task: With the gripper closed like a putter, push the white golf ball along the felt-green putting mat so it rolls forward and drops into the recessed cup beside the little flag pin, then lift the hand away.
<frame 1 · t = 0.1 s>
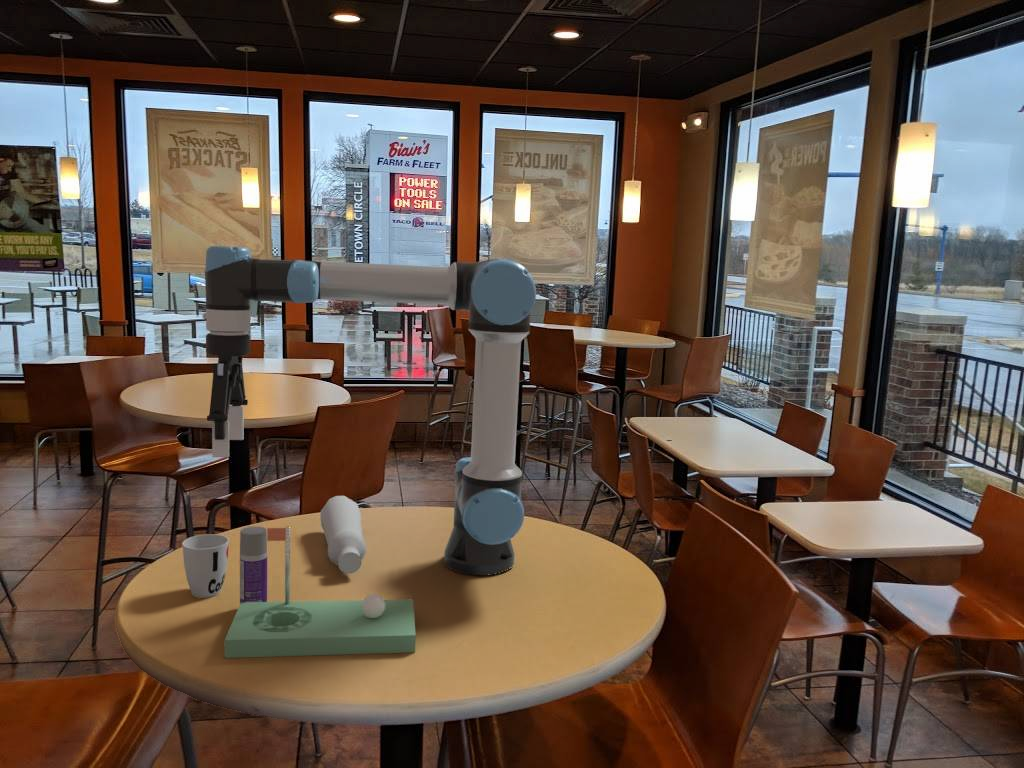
hand: (228, 447, 146), 28 cm above the table, fingers open, 13 cm apart
cup: (206, 593, 149), on the table
bottle: (342, 554, 172), on the table
green: (325, 634, 135), on the table
flag pin: (287, 619, 140), resting on green
ball: (373, 606, 135), point 5 cm above the table, touching green
container: (253, 611, 143), on the table
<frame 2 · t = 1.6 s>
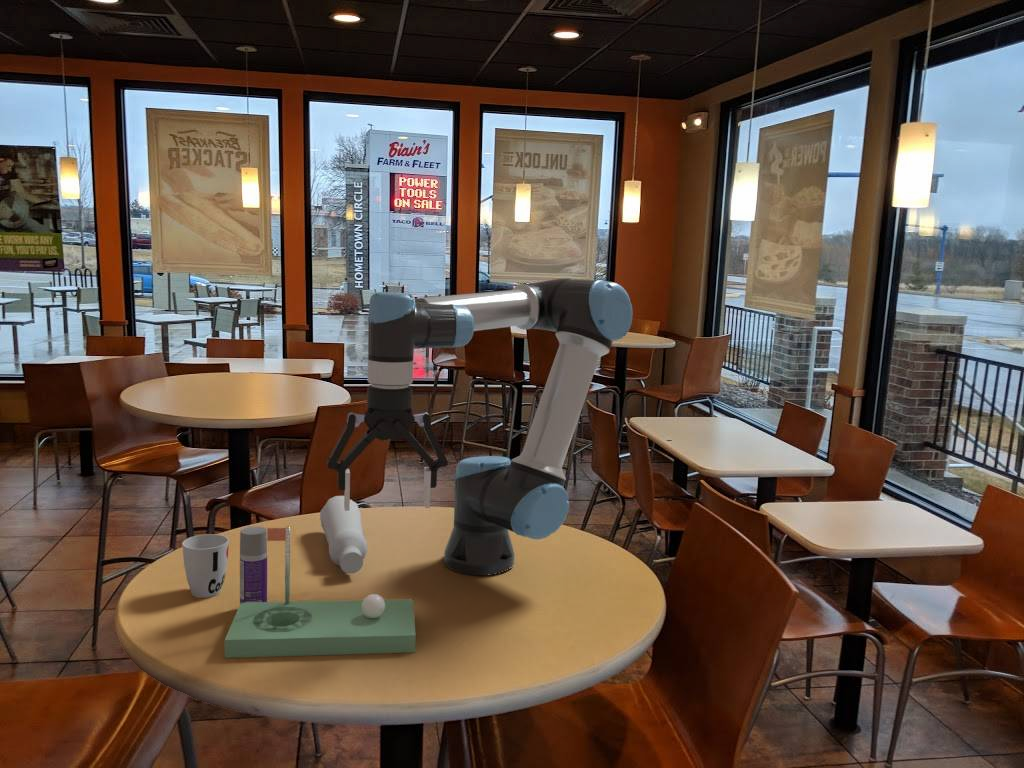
hand: (387, 507, 136), 22 cm above the table, fingers open, 13 cm apart
nothing on the table moved.
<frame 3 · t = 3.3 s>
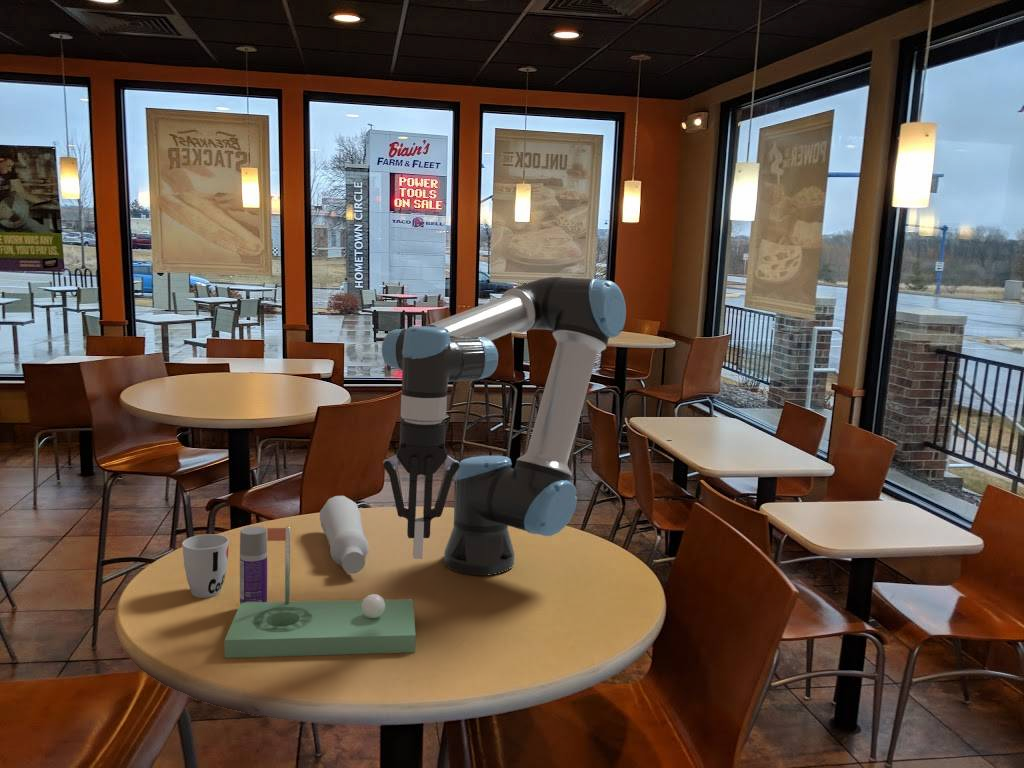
hand: (417, 555, 135), 14 cm above the table, fingers closed
nothing on the table moved.
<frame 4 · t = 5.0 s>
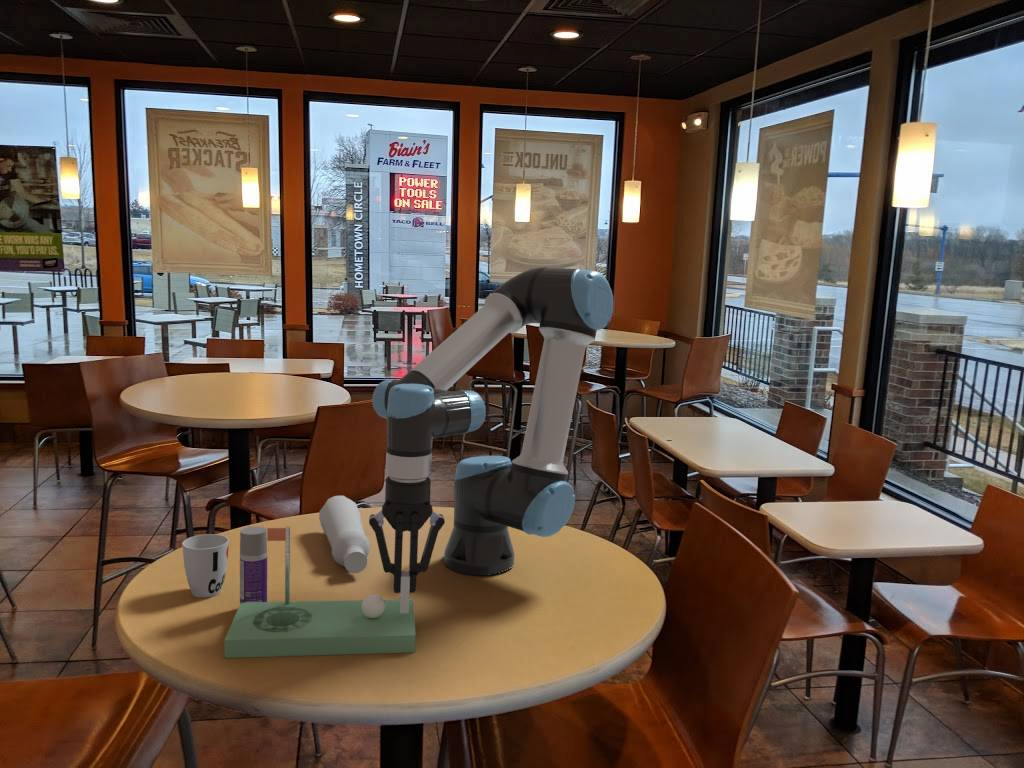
hand: (404, 609, 136), 4 cm above the table, fingers closed
nothing on the table moved.
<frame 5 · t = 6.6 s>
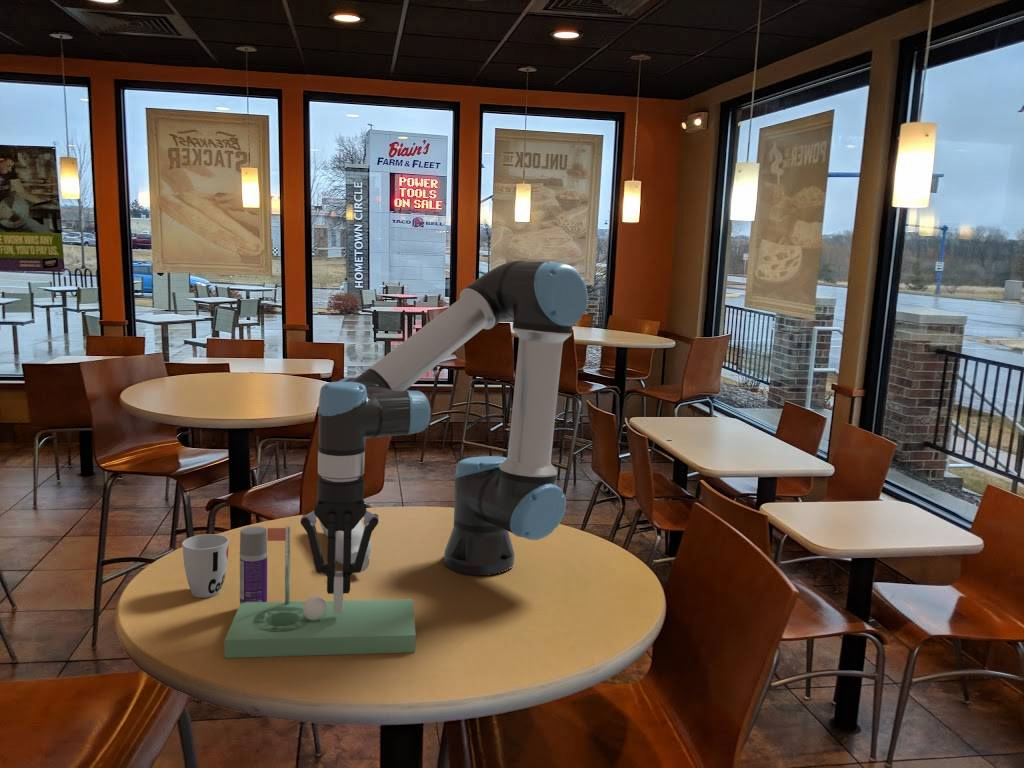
hand: (338, 610, 134), 4 cm above the table, fingers closed
ball: (314, 608, 133), point 5 cm above the table, tilted 84°, touching green
everything else where it was.
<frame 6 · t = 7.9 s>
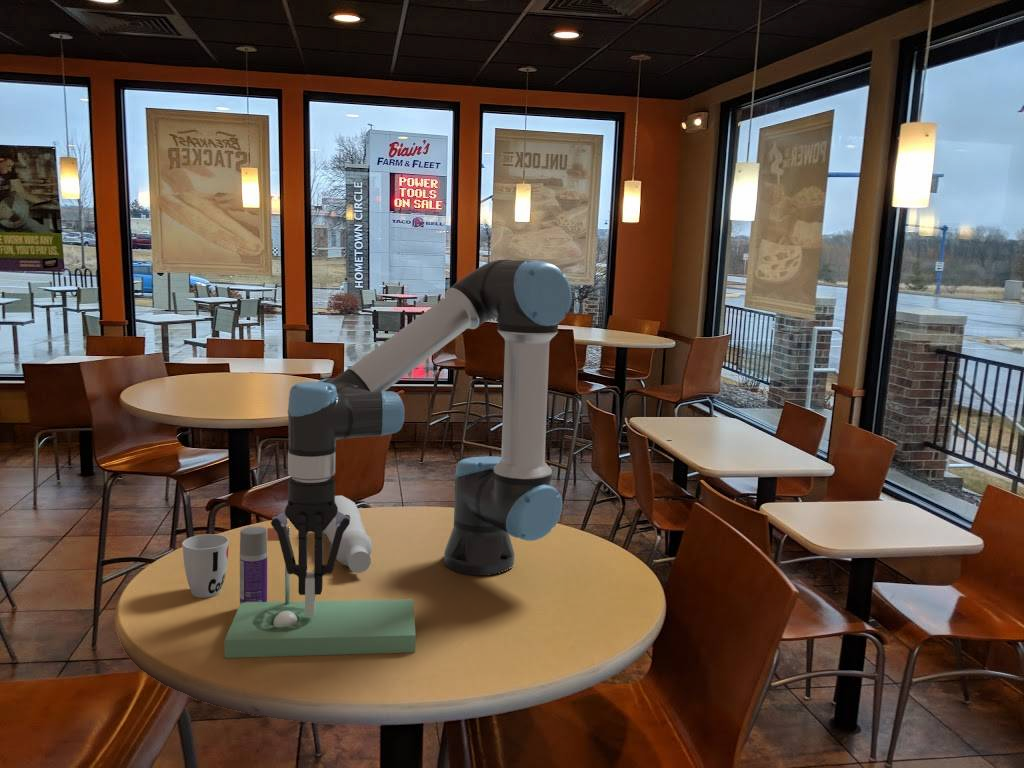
hand: (310, 611, 134), 4 cm above the table, fingers closed
ball: (285, 623, 134), point 2 cm above the table, tilted 79°
everything else where it was.
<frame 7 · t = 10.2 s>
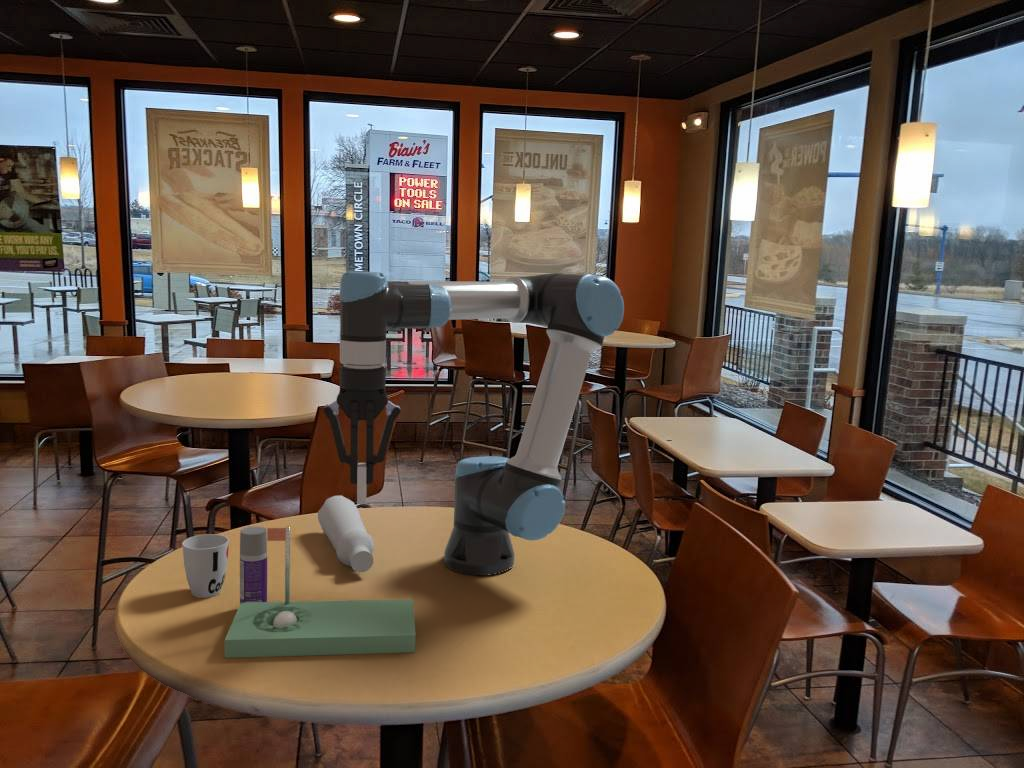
hand: (361, 501, 135), 23 cm above the table, fingers closed
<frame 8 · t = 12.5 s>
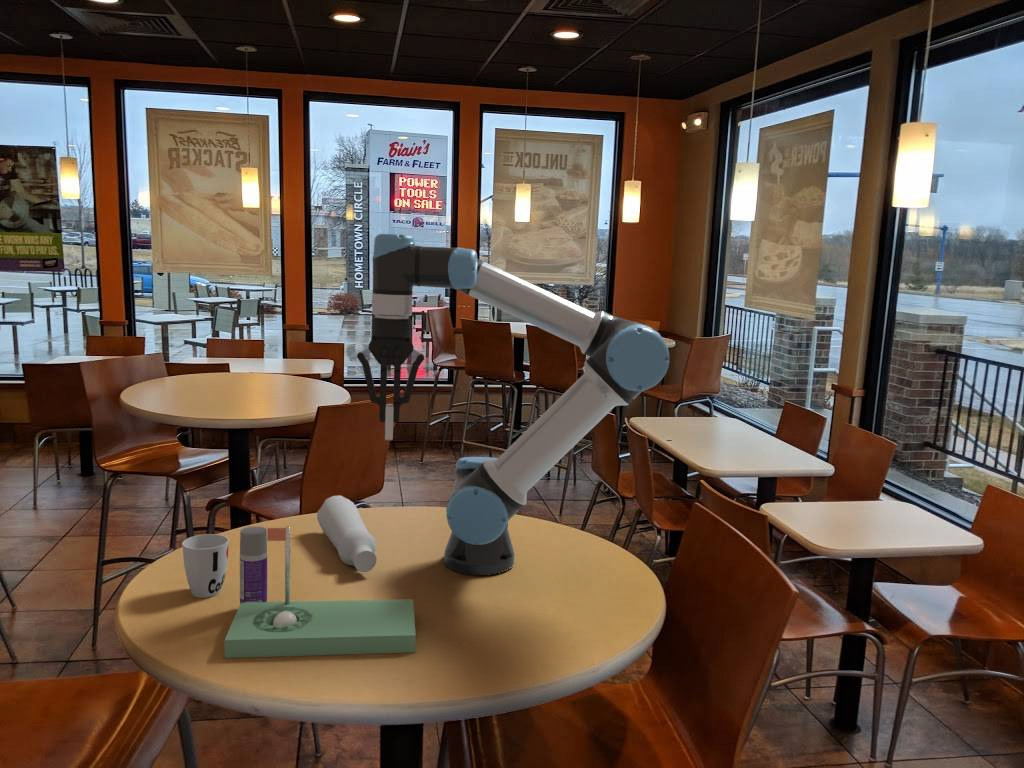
hand: (388, 438, 153), 29 cm above the table, fingers closed
at the end: ball 0.6 cm from the target spot in the green, point 2.0 cm above the green's base; ball moved 15.0 cm from its start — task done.
